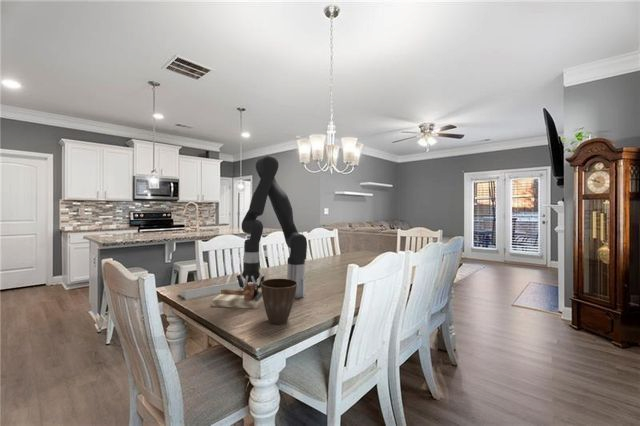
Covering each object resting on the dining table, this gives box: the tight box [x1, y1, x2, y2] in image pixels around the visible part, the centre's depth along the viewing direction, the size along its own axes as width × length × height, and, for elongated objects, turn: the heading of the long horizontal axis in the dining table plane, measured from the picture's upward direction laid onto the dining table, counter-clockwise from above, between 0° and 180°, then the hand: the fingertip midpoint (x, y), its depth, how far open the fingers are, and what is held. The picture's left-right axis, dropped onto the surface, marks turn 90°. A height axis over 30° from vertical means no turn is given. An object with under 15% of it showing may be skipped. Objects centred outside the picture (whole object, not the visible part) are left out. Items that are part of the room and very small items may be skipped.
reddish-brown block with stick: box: [243, 282, 255, 300], centre depth 142 cm, size 4×12×6 cm, turn 175°
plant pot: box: [260, 278, 297, 325], centre depth 124 cm, size 15×15×16 cm
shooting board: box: [211, 289, 263, 309], centre depth 145 cm, size 21×11×5 cm, turn 85°
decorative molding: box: [179, 279, 245, 301], centre depth 164 cm, size 34×5×10 cm
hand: (250, 296), depth 144 cm, fingers closed on reddish-brown block with stick, 4 cm apart
